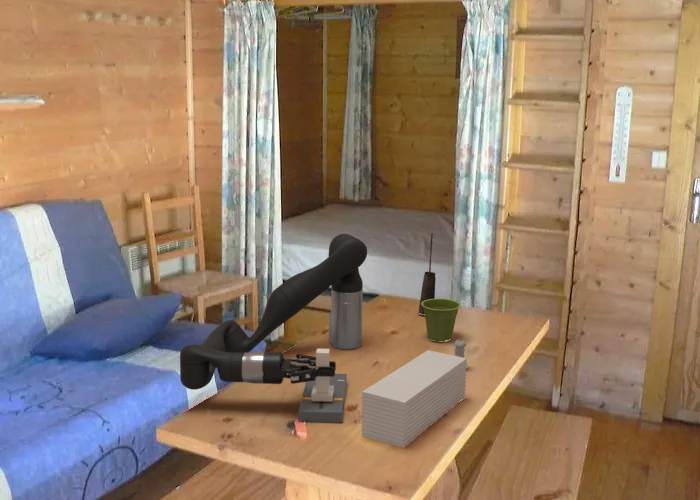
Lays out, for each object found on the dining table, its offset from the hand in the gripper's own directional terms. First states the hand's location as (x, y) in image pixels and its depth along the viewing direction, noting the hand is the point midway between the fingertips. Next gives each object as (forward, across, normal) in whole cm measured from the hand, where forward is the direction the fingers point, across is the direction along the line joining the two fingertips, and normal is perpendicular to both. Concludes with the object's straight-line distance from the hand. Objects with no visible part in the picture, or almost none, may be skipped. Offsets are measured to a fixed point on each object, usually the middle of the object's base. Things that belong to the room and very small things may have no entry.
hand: (334, 369), depth 183 cm
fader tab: (-3, 0, -7) cm, 8 cm away
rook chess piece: (+33, -28, -10) cm, 44 cm away
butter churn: (+26, -77, -10) cm, 82 cm away
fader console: (-3, -4, -10) cm, 11 cm away
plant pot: (+29, -53, -10) cm, 61 cm away
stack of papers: (+19, +3, -11) cm, 22 cm away
